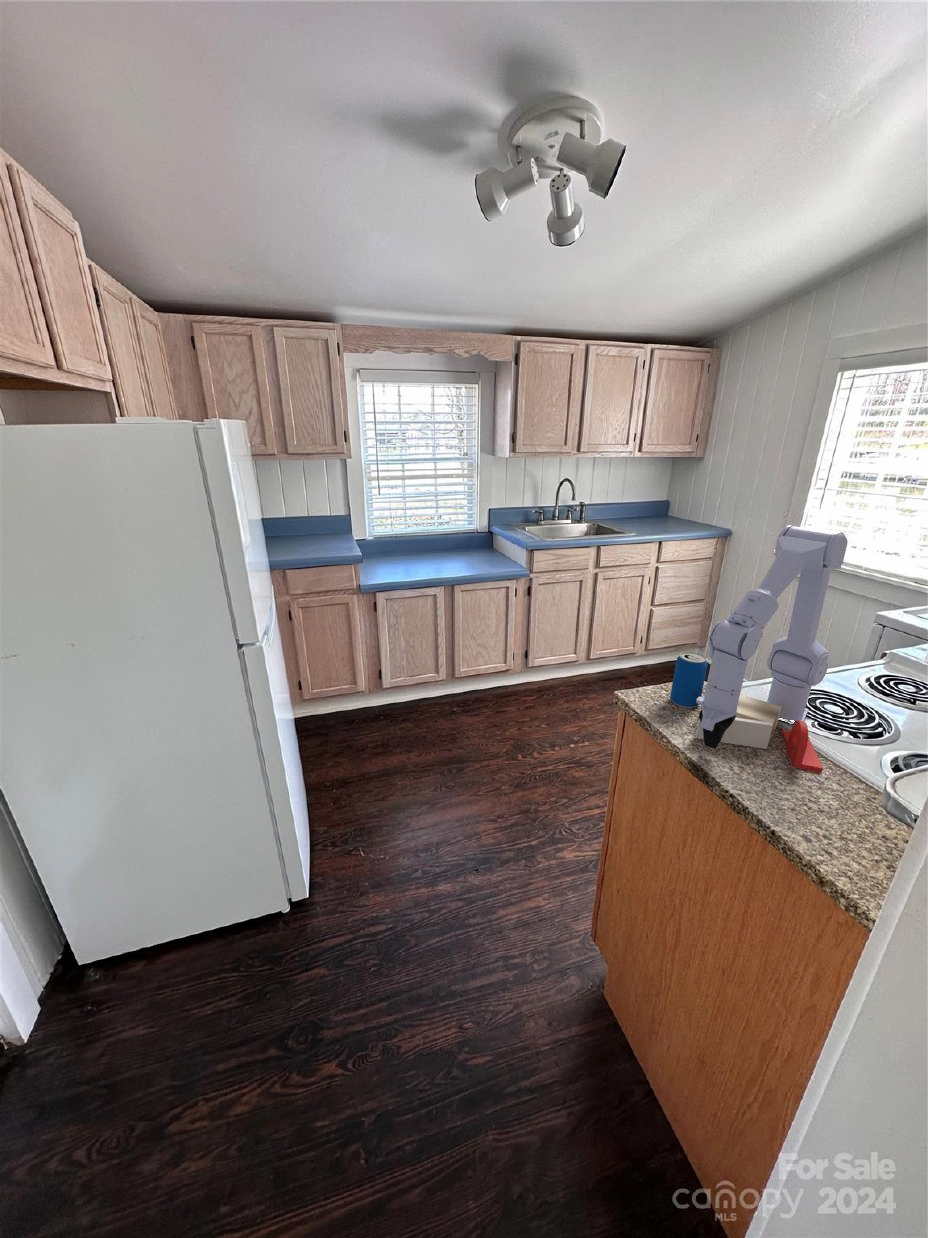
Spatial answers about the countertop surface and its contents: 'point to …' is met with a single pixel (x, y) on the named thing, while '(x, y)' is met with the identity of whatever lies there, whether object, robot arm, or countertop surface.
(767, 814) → the countertop surface
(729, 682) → the robot arm
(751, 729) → the door
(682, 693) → the beverage can
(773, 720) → the cream rectangular block
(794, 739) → the bracket
